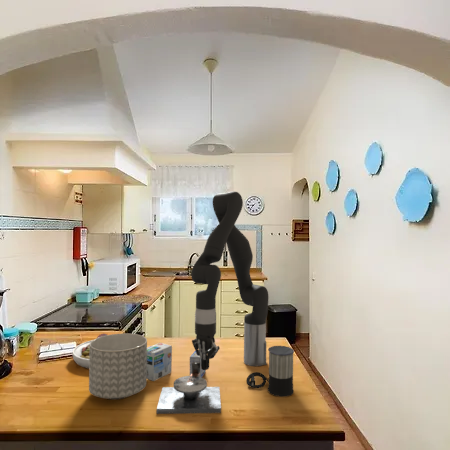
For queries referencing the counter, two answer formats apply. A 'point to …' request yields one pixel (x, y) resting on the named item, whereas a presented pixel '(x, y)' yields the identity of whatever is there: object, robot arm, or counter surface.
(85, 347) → the bowl
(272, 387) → the milk frother
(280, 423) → the counter surface
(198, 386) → the handwheel
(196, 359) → the medicine box
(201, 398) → the base
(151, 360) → the light bulb box
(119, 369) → the planter
